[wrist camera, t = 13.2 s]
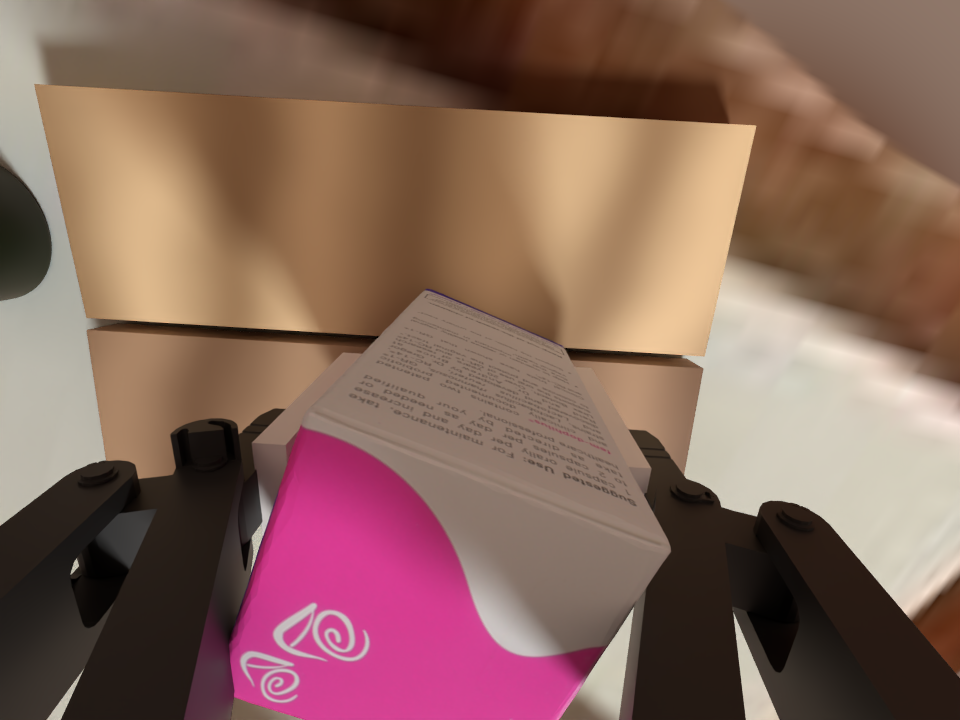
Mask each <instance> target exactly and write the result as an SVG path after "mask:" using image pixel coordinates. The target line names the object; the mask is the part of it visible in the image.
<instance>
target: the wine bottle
mask: <svg viewBox="0 0 960 720" xmlns="http://www.w3.org/2000/svg"><path fill="white" fill-rule="evenodd" d="M50 261H51V238H50V233H49V229H48V226H47V223H46V220H45V218H44V216H43V213H42V211H41V209H40V208H39V206H38V204H37V202H36V201H35V199H34V198H33V196H32V195H31V194H30V192H29V191H28V190H27V189H26V188H25V187H24V185H23V184H22V183H21V182H20V181H19V180H18V179H17V178H16V177H14V176H13V175H12V174H11V173H10V172H8V171H7V170H6V169H4V168H3V167H1V166H0V301H3V300H8V299H13V298H17V297H20V296H23V295H25V294H27V293H29V292H30V291H32V290H33V289H35V288H36V287H37V286H38V285H39V284H40V283H41V281H42V280H43V279H44V277H45V275H46V273H47V271H48V268H49V265H50Z"/></svg>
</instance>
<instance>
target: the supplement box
mask: <svg viewBox="0 0 960 720" xmlns="http://www.w3.org/2000/svg"><path fill="white" fill-rule="evenodd" d="M670 552H671V547H670V544H669V542H668V539H667V537H666V535H665V533H664V532H663V530H662V528H661V526H660V524H659V522H658V521H657V519H656V517H655V515H654V513H653V511H652V510H651V508H650V506H649V504H648V502H647V500H646V498H645V496H644V495H643V493H642V491H641V489H640V487H639V486H638V484H637V482H636V480H635V479H634V477H633V475H632V473H631V471H630V469H629V467H628V466H627V464H626V462H625V460H624V458H623V456H622V454H621V452H620V451H619V449H618V447H617V446H616V443H615V441H614V439H613V438H612V436H611V434H610V432H609V430H608V429H607V427H606V425H605V423H604V422H603V419H602V417H601V416H600V414H599V412H598V410H597V408H596V406H595V405H594V403H593V401H592V399H591V397H590V395H589V393H588V391H587V390H586V388H585V386H584V384H583V382H582V380H581V378H580V376H579V374H578V373H577V371H576V369H575V367H574V365H573V364H572V362H571V360H570V358H569V356H568V354H567V352H566V350H565V349H564V346H562V345H560V344H557V343H555V342H554V341H552V340H549V339H547V338H544V337H542V336H539V335H537V334H535V333H532V332H530V331H527V330H525V329H523V328H521V327H518V326H516V325H514V324H511V323H509V322H507V321H505V320H502V319H500V318H497V317H495V316H493V315H490V314H488V313H486V312H483V311H481V310H479V309H476V308H474V307H472V306H470V305H467V304H465V303H463V302H460V301H458V300H455V299H453V298H451V297H448V296H446V295H444V294H442V293H439V292H437V291H435V290H432V289H425V290H424V291H423V292H422V293H421V294H420V295H419V296H418V297H417V298H416V299H415V300H414V301H413V302H412V303H411V304H410V305H409V306H408V307H407V308H406V309H405V310H404V311H403V312H402V313H401V314H400V315H399V316H398V317H397V318H396V319H395V321H394V322H393V323H392V324H391V325H390V326H389V327H388V328H386V329H385V330H384V331H383V333H382V334H381V335H380V336H379V337H378V338H377V339H376V340H375V341H374V342H373V343H372V344H371V345H370V346H369V347H368V349H367V350H366V351H365V352H364V353H363V354H362V355H361V356H360V357H359V358H358V359H357V360H356V361H355V362H354V363H353V364H352V365H351V366H350V367H349V368H348V369H347V370H346V371H345V372H344V374H343V375H342V376H341V377H339V378H338V379H337V380H336V381H335V382H334V384H332V385H331V386H330V387H329V388H328V390H327V391H326V392H325V393H324V394H323V395H322V396H321V397H320V398H319V399H318V400H317V401H316V402H315V403H314V404H313V405H312V406H311V407H310V408H309V409H308V410H307V411H306V413H305V415H304V417H303V419H302V422H301V425H300V428H299V431H298V434H297V436H296V439H295V442H294V445H293V447H292V451H291V454H290V457H289V460H288V463H287V466H286V469H285V472H284V475H283V478H282V481H281V484H280V487H279V490H278V493H277V496H276V499H275V502H274V505H273V508H272V511H271V514H270V517H269V520H268V523H267V526H266V529H265V532H264V535H263V538H262V541H261V544H260V547H259V550H258V553H257V557H256V560H255V563H254V566H253V569H252V572H251V575H250V578H249V582H248V585H247V588H246V591H245V594H244V597H243V600H242V602H241V605H240V609H239V612H238V615H237V618H236V621H235V624H234V627H233V630H232V633H231V637H230V640H229V651H230V663H231V670H232V677H233V683H234V690H235V693H234V697H235V698H238V699H241V700H244V701H246V702H249V703H252V704H255V705H259V706H262V707H265V708H268V709H271V710H274V711H278V712H281V713H284V714H288V715H291V716H294V717H297V718H301V719H304V720H559V719H560V718H561V716H562V715H563V713H564V712H565V710H566V709H567V707H568V706H569V704H570V703H571V702H572V700H573V699H574V697H575V696H576V694H577V693H578V691H579V690H580V688H581V687H582V685H583V683H584V682H585V680H586V678H587V677H588V675H589V674H590V672H591V670H592V669H593V667H594V666H595V664H596V663H597V661H598V660H599V658H600V657H601V655H602V654H603V652H604V651H605V649H606V648H607V647H608V645H609V644H610V642H611V641H612V639H613V638H614V637H615V635H616V634H617V632H618V630H619V629H620V627H621V626H622V624H623V623H624V621H625V620H626V618H627V617H628V615H629V613H630V612H631V610H632V609H633V607H634V605H635V604H636V602H637V601H638V599H639V598H640V596H641V595H642V593H643V592H644V590H645V589H646V587H647V586H648V584H649V583H650V581H651V580H652V578H653V577H654V575H655V574H656V572H657V571H658V569H659V568H660V566H661V565H662V563H663V562H664V561H665V559H666V558H667V556H668V555H669V554H670Z"/></svg>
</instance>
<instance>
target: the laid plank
mask: <svg viewBox="0 0 960 720" xmlns="http://www.w3.org/2000/svg"><path fill="white" fill-rule="evenodd" d="M34 85H35V90H36V94H37V99H38V103H39V108H40V112H41V117H42V121H43V126H44V130H45V134H46V139H47V143H48V148H49V152H50V157H51V161H52V166H53V170H54V175H55V179H56V184H57V188H58V193H59V197H60V201H61V206H62V210H63V215H64V219H65V224H66V228H67V233H68V237H69V242H70V246H71V251H72V255H73V259H74V264H75V268H76V273H77V277H78V282H79V286H80V291H81V295H82V300H83V304H84V309H85V313H86V317H87V318H98V319H114V320H130V321H146V322H162V323H178V324H194V325H210V326H226V327H242V328H258V329H274V330H290V331H306V332H322V333H338V334H355V335H371V336H380V335H381V334H382V333H383V331H384V330H385V329H386V328H388V327H389V326H390V325H391V324H392V323H393V322H394V321H395V319H396V318H397V317H398V316H399V315H400V314H401V313H402V312H403V311H404V310H405V309H406V308H407V307H408V306H409V305H410V304H411V303H412V302H413V301H414V300H415V299H416V298H417V297H418V296H419V295H420V294H421V293H422V292H423V291H424V290H425V289H432V290H435V291H437V292H439V293H442V294H444V295H446V296H448V297H451V298H453V299H455V300H458V301H460V302H463V303H465V304H467V305H470V306H472V307H474V308H476V309H479V310H481V311H483V312H486V313H488V314H490V315H493V316H495V317H497V318H500V319H502V320H505V321H507V322H509V323H511V324H514V325H516V326H518V327H521V328H523V329H525V330H527V331H530V332H532V333H535V334H537V335H539V336H542V337H544V338H547V339H549V340H552V341H554V342H555V343H557V344H560V345H562V346H564V348H579V349H595V350H611V351H627V352H643V353H659V354H675V355H692V356H705V352H706V347H707V343H708V338H709V334H710V329H711V325H712V321H713V316H714V312H715V307H716V303H717V298H718V294H719V289H720V285H721V280H722V276H723V272H724V267H725V263H726V258H727V254H728V249H729V245H730V240H731V236H732V232H733V227H734V223H735V218H736V214H737V209H738V205H739V200H740V196H741V191H742V187H743V183H744V178H745V174H746V169H747V165H748V160H749V156H750V151H751V147H752V142H753V138H754V134H755V129H756V126H753V125H736V124H719V123H701V122H684V121H666V120H649V119H632V118H614V117H597V116H579V115H562V114H545V113H527V112H510V111H492V110H475V109H458V108H440V107H423V106H405V105H388V104H371V103H353V102H336V101H318V100H301V99H284V98H266V97H249V96H231V95H214V94H197V93H179V92H162V91H144V90H127V89H110V88H92V87H75V86H57V85H40V84H34Z"/></svg>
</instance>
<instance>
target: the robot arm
mask: <svg viewBox="0 0 960 720" xmlns="http://www.w3.org/2000/svg"><path fill="white" fill-rule="evenodd" d="M361 355H362V354H359V353H342V354H341V355H340V356H339V357H338V358H337V359H336V360H335V361H334V362H333V363H332V364H331V365H330V366H329V367H328V368H327V369H326V370H325V371H324V372H323V373H322V374H321V375H320V376H319V377H318V378H317V379H316V380H315V381H314V382H313V383H312V384H311V385H310V386H309V387H308V388H307V389H306V390H305V391H304V392H303V393H302V394H301V395H300V396H299V397H298V398H297V399H296V400H294V401H293V402H292V403H291V404H290V405H289V406H288V407H287V408H286V409H279V408H274V409H272V410H270V411H268V412H266V413H263V414H261V415H259V416H258V417H257V418H256V419H255V420H254V421H253V422H252V423H251V424H250V426H247V427H246V428H245V429H244V430H243V431H242V433H240V434H239V433H238V426H237V423H235V422H234V421H232V420H228V419H223V418H210V419H204V420H197V421H194V422H191V423H188V424H185V425H183V426H181V427H179V428H177V429H175V430H174V431H173V432H172V433H171V434H170V437H171V443H172V449H173V454H174V460H175V465H176V469H175V471H174V473H173V475H168V476H159V477H151V478H142V479H138V475H137V470H136V466H135V464H133V463H131V462H129V461H122V460H114V461H100V462H99V463H97V462H96V463H92V464H89V465H87V466H85V467H83V468H80V469H78V470H75V471H74V472H72V473H70V474H69V475H67V476H65V477H64V478H62V479H61V480H60V481H58V482H57V483H56V484H55V485H53V486H52V487H51V488H49V489H48V490H47V491H45V492H44V493H43V494H41V495H40V496H39V497H38V498H36V499H35V500H34V501H32V502H31V503H30V504H28V505H27V506H26V507H25V508H23V509H22V510H21V511H19V512H18V513H17V514H15V515H14V516H13V517H11V518H10V519H9V520H8V521H6V522H5V523H4V524H2V525H1V526H0V720H46V719H47V718H48V717H49V715H50V714H51V713H52V711H53V710H54V709H55V707H56V706H57V704H58V703H59V702H60V700H61V699H62V698H63V696H64V695H65V694H66V692H67V691H68V689H69V688H70V687H71V685H72V684H73V683H74V681H75V680H76V678H77V677H78V676H79V674H80V673H81V672H82V670H83V669H84V670H83V673H82V675H81V677H80V679H79V681H78V683H77V686H76V688H75V690H74V692H73V694H72V697H71V699H70V701H69V703H68V705H67V708H66V710H65V712H64V714H63V716H62V719H61V720H231V715H232V708H233V700H234V693H235V690H234V683H233V677H232V670H231V663H230V651H229V640H230V637H231V633H232V630H233V627H234V624H235V621H236V618H237V615H238V612H239V609H240V605H241V602H242V600H243V597H244V594H245V591H246V588H247V585H248V582H249V578H250V574H251V566H252V559H253V545H252V535H253V534H254V533H255V531H256V530H257V529H258V527H259V526H260V524H261V527H262V536H263V535H264V532H265V529H266V526H267V523H268V520H269V517H270V514H271V511H272V508H273V505H274V502H275V499H276V496H277V493H278V490H279V487H280V484H281V481H282V478H283V475H284V472H285V469H286V466H287V463H288V460H289V457H290V454H291V451H292V447H293V445H294V442H295V439H296V436H297V434H298V431H299V428H300V425H301V422H302V419H303V417H304V415H305V413H306V411H307V410H308V409H309V408H310V407H311V406H312V405H313V404H314V403H315V402H316V401H317V400H318V399H319V398H320V397H321V396H322V395H323V394H324V393H325V392H326V391H327V390H328V388H329V387H330V386H331V385H332V384H334V382H335V381H336V380H337V379H338V378H339V377H341V376H342V375H343V374H344V372H345V371H346V370H347V369H348V368H349V367H350V366H351V365H352V364H353V363H354V362H355V361H356V360H357V359H358V358H359V357H360V356H361ZM575 369H576V371H577V373H578V374H579V376H580V378H581V380H582V382H583V384H584V386H585V388H586V390H587V391H588V393H589V395H590V397H591V399H592V401H593V403H594V405H595V406H596V408H597V410H598V412H599V414H600V416H601V417H602V419H603V422H604V423H605V425H606V427H607V429H608V430H609V432H610V434H611V436H612V438H613V439H614V441H615V443H616V446H617V447H618V449H619V451H620V452H621V454H622V456H623V458H624V460H625V462H626V464H627V466H628V467H629V469H630V471H631V473H632V475H633V477H634V479H635V480H636V482H637V484H638V486H639V487H640V489H641V491H642V493H643V495H644V496H645V498H646V500H647V502H648V504H649V506H650V508H651V510H652V511H653V513H654V515H655V517H656V519H657V521H658V522H659V524H660V526H661V528H662V530H663V532H664V533H665V535H666V537H667V539H668V542H669V544H670V547H671V552H670V554H669V555H668V556H667V558H666V559H665V561H664V562H663V563H662V565H661V566H660V568H659V569H658V571H657V572H656V574H655V575H654V577H653V578H652V580H651V581H650V583H649V584H648V586H647V587H646V589H645V590H644V592H643V593H642V595H641V596H640V598H639V599H638V601H637V602H636V604H635V605H634V612H633V619H632V627H631V634H630V642H629V649H628V657H627V664H626V672H625V679H624V687H623V694H622V701H621V709H620V716H619V720H746V718H745V710H744V701H743V693H742V684H741V676H740V667H739V659H738V650H737V641H736V633H735V624H734V616H733V612H734V614H735V617H736V619H737V621H738V624H739V626H740V628H741V631H742V633H743V635H744V638H745V640H746V642H747V645H748V647H749V649H750V652H751V654H752V656H753V659H754V661H755V663H756V666H757V668H758V670H759V673H760V675H761V677H762V680H763V682H764V684H765V687H766V689H767V691H768V694H769V696H770V698H771V701H772V703H773V705H774V708H775V710H776V712H777V715H778V717H779V719H780V720H960V678H959V677H958V676H957V674H956V673H955V672H954V671H953V670H952V668H951V667H950V666H949V665H948V664H947V663H946V661H945V660H944V659H943V658H942V657H941V655H940V654H939V653H938V652H937V651H936V650H935V648H934V647H933V646H932V645H931V644H930V642H929V641H928V640H927V639H926V638H925V637H924V635H923V634H922V633H921V632H920V631H919V630H918V628H917V627H916V626H915V625H914V624H913V622H912V621H911V620H910V619H909V618H908V617H907V615H906V614H905V613H904V612H903V611H902V609H901V608H900V607H899V606H898V605H897V604H896V602H895V601H894V600H893V599H892V598H891V597H890V595H889V594H888V593H887V592H886V591H885V589H884V588H883V587H882V586H881V585H880V584H879V582H878V581H877V580H876V579H875V578H874V576H873V575H872V574H871V573H870V572H869V571H868V569H867V568H866V567H865V566H864V565H863V564H862V562H861V561H860V560H859V559H858V558H857V556H856V555H855V554H854V553H853V552H852V551H851V549H850V548H849V547H848V546H847V545H846V543H845V542H844V541H843V540H842V539H841V538H840V536H839V535H838V534H837V533H836V532H835V531H834V529H833V528H832V527H831V526H830V525H829V524H828V523H827V522H826V521H825V520H824V519H823V518H821V517H820V516H818V515H817V514H815V513H813V512H812V511H810V510H809V509H807V508H805V507H803V506H799V505H797V504H794V503H787V502H783V501H768V502H765V503H762V505H761V507H760V509H759V512H758V515H757V517H756V516H752V515H748V514H744V513H740V512H736V511H732V510H729V509H725V508H722V507H721V505H720V501H719V499H718V497H717V495H716V494H715V493H713V492H712V491H711V490H710V489H709V488H707V487H705V486H703V485H701V484H700V483H697V482H694V481H691V480H688V479H686V478H685V476H684V475H683V473H682V472H681V471H680V469H679V468H678V466H677V465H676V463H675V462H674V461H673V459H671V456H670V455H669V453H668V452H667V451H665V448H664V446H663V445H662V443H661V442H660V441H659V439H657V438H656V437H655V436H653V435H652V434H650V433H649V432H647V431H646V430H631V429H628V428H627V427H626V425H625V423H624V422H623V420H622V418H621V416H620V415H619V413H618V411H617V410H616V408H615V406H614V405H613V403H612V401H611V400H610V398H609V396H608V395H607V393H606V391H605V390H604V388H603V386H602V385H601V383H600V381H599V380H598V378H597V376H596V375H595V373H594V371H593V369H592V368H584V367H575ZM76 558H77V560H78V564H79V567H78V568H77V569H76V570H75V571H74V572H73V573H72V574H71V575H70V573H71V570H72V567H73V563H74V561H75V560H76Z"/></svg>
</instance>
